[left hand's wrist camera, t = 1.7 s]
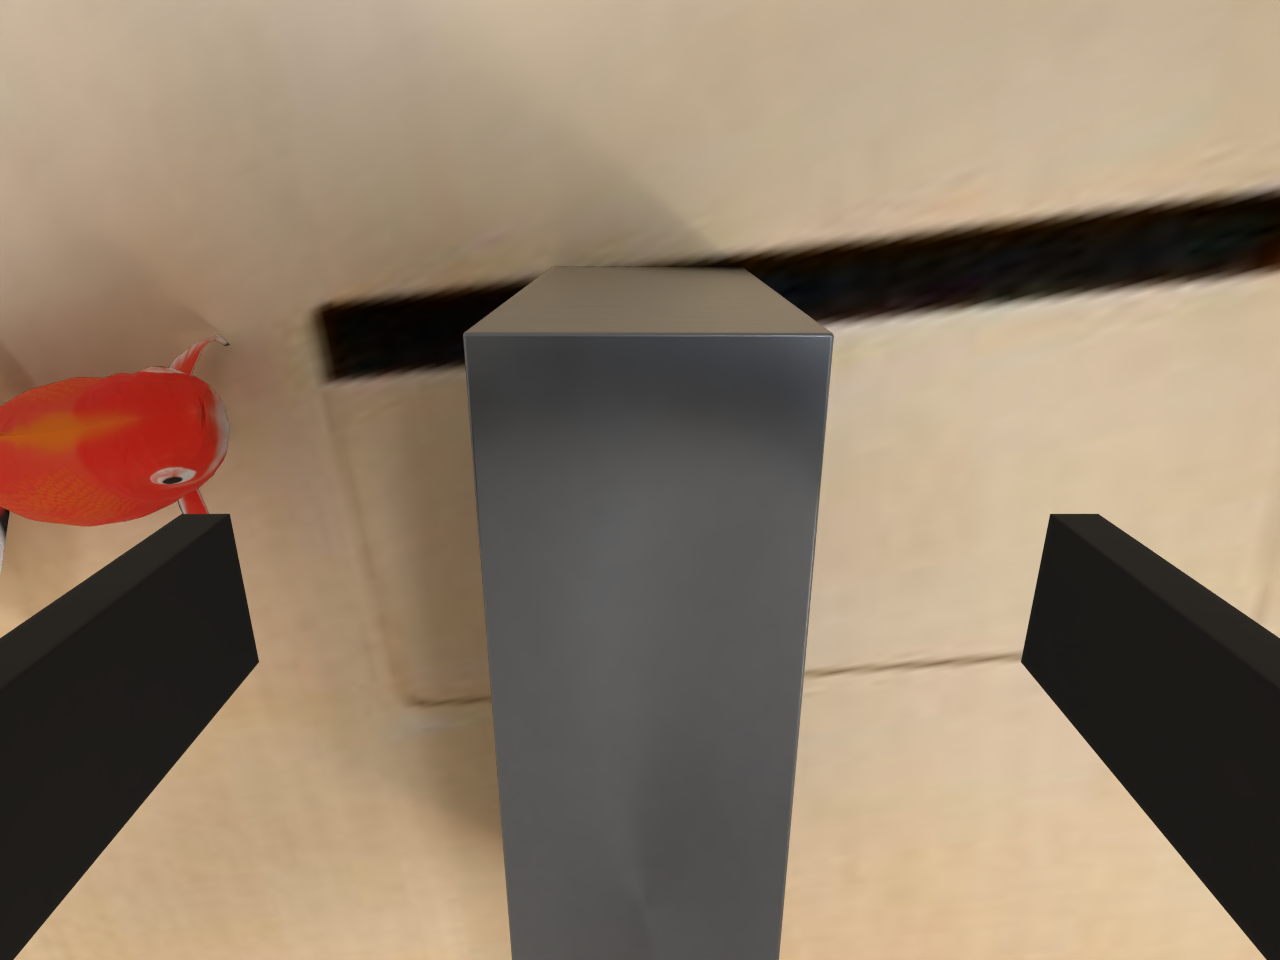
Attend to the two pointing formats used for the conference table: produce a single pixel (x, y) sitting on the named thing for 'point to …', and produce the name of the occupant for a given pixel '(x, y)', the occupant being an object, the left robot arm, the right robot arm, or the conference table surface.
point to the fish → (111, 446)
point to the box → (647, 601)
